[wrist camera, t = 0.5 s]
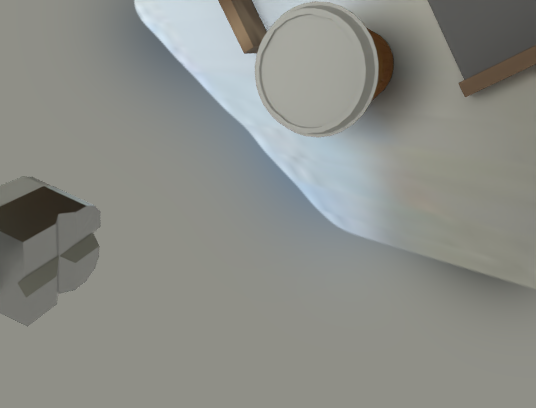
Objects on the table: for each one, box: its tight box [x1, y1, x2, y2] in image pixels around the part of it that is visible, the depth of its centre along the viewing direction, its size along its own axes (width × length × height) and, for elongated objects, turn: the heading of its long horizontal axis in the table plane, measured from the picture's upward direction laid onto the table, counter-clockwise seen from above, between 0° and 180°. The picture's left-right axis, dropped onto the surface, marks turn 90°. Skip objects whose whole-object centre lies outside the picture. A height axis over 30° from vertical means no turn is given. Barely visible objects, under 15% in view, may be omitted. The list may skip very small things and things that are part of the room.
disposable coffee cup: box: [255, 2, 393, 137], centre depth 38 cm, size 10×10×12 cm
